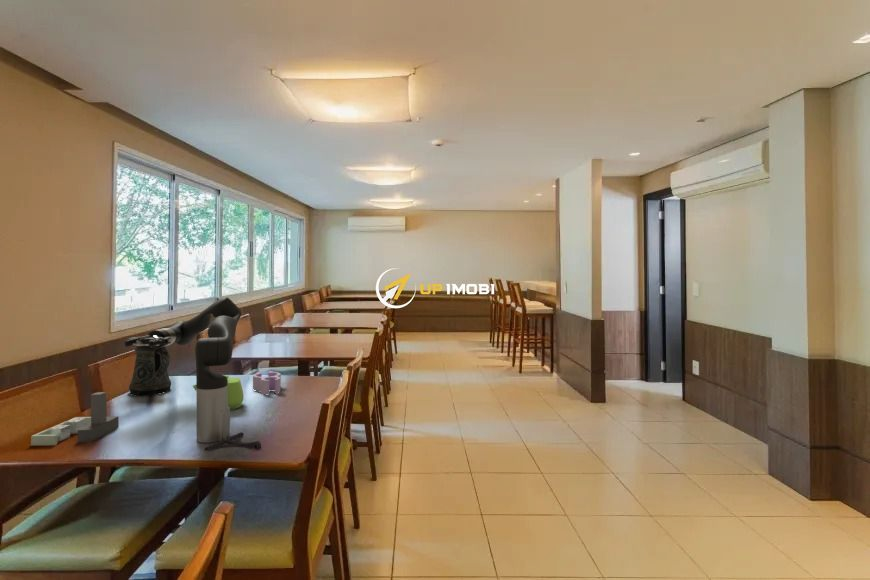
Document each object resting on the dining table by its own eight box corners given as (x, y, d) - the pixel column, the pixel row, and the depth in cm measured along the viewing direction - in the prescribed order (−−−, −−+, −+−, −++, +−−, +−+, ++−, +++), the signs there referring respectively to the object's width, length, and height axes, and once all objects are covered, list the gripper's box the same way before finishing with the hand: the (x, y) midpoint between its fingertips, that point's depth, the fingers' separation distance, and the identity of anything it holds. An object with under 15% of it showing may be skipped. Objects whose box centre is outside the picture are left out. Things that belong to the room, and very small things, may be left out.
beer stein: (143, 387, 214) (143, 335, 213) (184, 387, 214) (184, 335, 214) (120, 396, 197) (119, 339, 197) (164, 396, 198) (164, 340, 197)
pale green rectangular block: (96, 425, 159) (96, 416, 159) (54, 445, 140) (54, 435, 140) (75, 425, 158) (75, 417, 158) (31, 445, 139) (31, 436, 139)
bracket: (242, 459, 132) (242, 450, 132) (204, 452, 138) (204, 443, 138) (275, 443, 146) (275, 434, 146) (239, 437, 151) (240, 428, 151)
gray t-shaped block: (118, 427, 157) (118, 388, 157) (90, 442, 143) (90, 398, 143) (106, 427, 157) (106, 388, 156) (77, 442, 143) (77, 399, 142)
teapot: (189, 417, 169) (189, 383, 169) (196, 403, 188) (196, 372, 187) (242, 412, 176) (242, 379, 175) (244, 399, 194) (244, 369, 194)
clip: (286, 393, 206) (286, 378, 206) (257, 396, 200) (257, 381, 199) (277, 384, 223) (277, 370, 223) (250, 387, 217) (250, 373, 217)
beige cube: (85, 429, 155) (85, 418, 155) (76, 433, 151) (76, 421, 151) (73, 429, 154) (73, 418, 154) (64, 433, 150) (64, 422, 150)
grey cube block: (70, 436, 148) (69, 424, 147) (60, 441, 144) (60, 429, 143) (57, 437, 147) (57, 425, 147) (47, 441, 143) (47, 429, 143)
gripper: (143, 328, 182) (117, 333, 166) (179, 328, 183) (157, 333, 167) (143, 347, 182) (118, 353, 166) (179, 347, 183) (157, 353, 167)
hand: (138, 343), depth 166 cm, fingers open, 8 cm apart
